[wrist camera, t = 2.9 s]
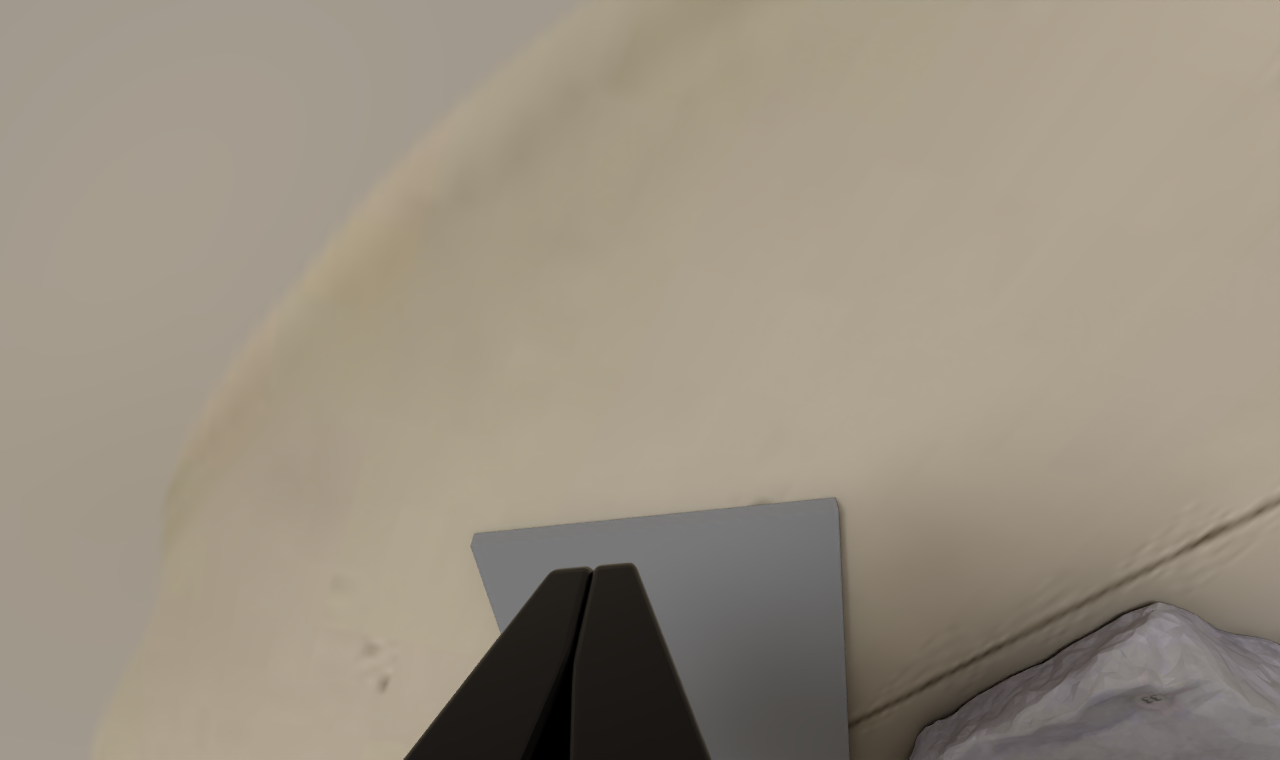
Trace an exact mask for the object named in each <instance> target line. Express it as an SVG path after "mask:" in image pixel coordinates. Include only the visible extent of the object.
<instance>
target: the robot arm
mask: <svg viewBox="0 0 1280 760" xmlns="http://www.w3.org/2000/svg"><path fill="white" fill-rule="evenodd" d="M403 760H712V759H711V756H710V753H709V751H708V748H707V746H706V743H705V741H704V738H703V736H702V733H701V730H700V728H699V725H698V723H697V720H696V718H695V715H694V712H693V710H692V707H691V705H690V702H689V700H688V697H687V694H686V692H685V689H684V687H683V684H682V682H681V679H680V677H679V674H678V671H677V669H676V666H675V664H674V661H673V659H672V656H671V653H670V651H669V648H668V646H667V643H666V641H665V638H664V635H663V633H662V630H661V628H660V625H659V623H658V620H657V617H656V615H655V612H654V610H653V607H652V605H651V602H650V600H649V597H648V594H647V592H646V589H645V587H644V584H643V582H642V579H641V576H640V574H639V571H638V569H637V567H636V565H635V564H633V563H631V562H627V563H616V564H604V565H599V566H597V567H596V568H595V569H594V570H593V569H592V568H590V567H588V566H582V567H571V568H560V569H555V570H553V571H551V572H550V573H549V574H548V575H547V576H546V577H545V579H544V580H543V581H542V582H541V584H540V585H539V586H538V588H537V589H536V590H535V591H534V593H533V594H532V595H531V597H530V598H529V599H528V600H527V602H526V603H525V604H524V606H523V607H522V608H521V609H520V611H519V612H518V613H517V615H516V616H515V617H514V618H513V620H512V621H511V622H510V624H509V625H508V626H507V627H506V629H505V630H504V631H503V632H502V634H501V635H500V636H499V638H498V639H497V640H496V641H495V643H494V644H493V645H492V647H491V648H490V649H489V650H488V652H487V653H486V654H485V656H484V657H483V658H482V659H481V661H480V662H479V663H478V665H477V666H476V667H475V668H474V670H473V671H472V672H471V674H470V675H469V676H468V677H467V679H466V680H465V681H464V683H463V684H462V685H461V686H460V688H459V689H458V690H457V691H456V693H455V694H454V695H453V697H452V698H451V699H450V700H449V702H448V703H447V704H446V706H445V707H444V708H443V709H442V711H441V712H440V713H439V715H438V716H437V717H436V718H435V720H434V721H433V722H432V724H431V725H430V726H429V727H428V729H427V730H426V731H425V733H424V734H423V735H422V736H421V738H420V739H419V740H418V742H417V743H416V744H415V745H414V747H413V748H412V749H411V750H410V752H409V753H408V754H407V756H406V757H405V758H404V759H403Z"/></svg>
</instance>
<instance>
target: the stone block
mask: <svg viewBox="0 0 1280 760" xmlns="http://www.w3.org/2000/svg"><path fill="white" fill-rule="evenodd" d="M909 760H1280V645H1279V644H1278V643H1275V642H1273V641H1270V640H1268V639H1263V638H1258V637H1250V636H1243V635H1235V634H1231V633H1228V632H1225V631H1221V630H1218V629H1216V628H1215V627H1213V626H1212V625H1210V624H1209V623H1207V622H1206V621H1204V620H1203V619H1201V618H1200V617H1198V616H1196V615H1194V614H1192V613H1190V612H1189V611H1187V610H1184V609H1181V608H1178V607H1176V606H1174V605H1171V604H1166V603H1161V602H1157V603H1154V604H1151V605H1149V606H1146V607H1144V608H1141V609H1138V610H1135V611H1131V612H1129V613H1127V614H1125V615H1123V616H1121V617H1120V618H1118V619H1117V620H1115V621H1113V622H1112V623H1110V624H1108V625H1106V626H1104V627H1103V628H1101V629H1100V630H1098V631H1096V632H1094V633H1093V634H1091V635H1089V636H1087V637H1085V638H1083V639H1081V640H1079V641H1077V642H1075V643H1074V644H1072V645H1070V646H1069V647H1067V648H1066V649H1064V650H1063V651H1061V652H1060V653H1058V654H1057V655H1056V656H1054V657H1053V658H1051V659H1050V660H1048V661H1046V662H1045V663H1043V664H1040V665H1037V666H1034V667H1031V668H1029V669H1027V670H1025V671H1023V672H1021V673H1019V674H1017V675H1014V676H1012V677H1010V678H1008V679H1006V680H1004V681H1003V682H1001V683H999V684H997V685H996V686H994V687H992V688H990V689H989V690H987V691H985V692H983V693H982V694H980V695H978V696H976V697H975V698H973V699H972V700H970V701H969V702H968V703H966V704H965V705H964V706H962V707H961V708H960V709H959V710H958V711H957V712H956V713H955V714H953V715H951V716H949V717H948V718H946V719H942V720H937V721H936V722H935V723H934V724H932V725H931V726H928V727H926V728H924V729H923V731H922V732H921V733H920V734H919V735H918V737H917V739H916V741H915V747H914V749H913V752H912V754H911V756H910V758H909Z"/></svg>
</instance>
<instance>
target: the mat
mask: <svg viewBox="0 0 1280 760" xmlns="http://www.w3.org/2000/svg"><path fill="white" fill-rule="evenodd" d="M471 549H472V552H473V555H474V558H475V560H476V563H477V566H478V569H479V572H480V575H481V578H482V581H483V583H484V586H485V589H486V592H487V595H488V598H489V601H490V604H491V607H492V609H493V612H494V615H495V618H496V621H497V624H498V627H499V630H500V632H501V634H502V632H503V631H504V630H505V629H506V627H507V626H508V625H509V624H510V622H511V621H512V620H513V618H514V617H515V616H516V615H517V613H518V612H519V611H520V609H521V608H522V607H523V606H524V604H525V603H526V602H527V600H528V599H529V598H530V597H531V595H532V594H533V593H534V591H535V590H536V589H537V588H538V586H539V585H540V584H541V582H542V581H543V580H544V579H545V577H546V576H547V575H548V574H549V573H550V572H551V571H553V570H555V569H560V568H571V567H582V566H588V567H590V568H592V569H593V570H594V569H595V568H596V567H597V566H599V565H604V564H616V563H627V562H631V563H633V564H635V565H636V567H637V569H638V571H639V574H640V576H641V579H642V582H643V584H644V587H645V589H646V592H647V594H648V597H649V600H650V602H651V605H652V607H653V610H654V612H655V615H656V617H657V620H658V623H659V625H660V628H661V630H662V633H663V635H664V638H665V641H666V643H667V646H668V648H669V651H670V653H671V656H672V659H673V661H674V664H675V666H676V669H677V671H678V674H679V677H680V679H681V682H682V684H683V687H684V689H685V692H686V694H687V697H688V700H689V702H690V705H691V707H692V710H693V712H694V715H695V718H696V720H697V723H698V725H699V728H700V730H701V733H702V736H703V738H704V741H705V743H706V746H707V748H708V751H709V753H710V756H711V759H712V760H850V758H849V736H848V713H847V691H846V669H845V646H844V624H843V601H842V579H841V557H840V534H839V512H838V506H837V503H836V499H835V498H827V499H817V500H807V501H797V502H787V503H777V504H767V505H757V506H747V507H737V508H727V509H717V510H707V511H697V512H687V513H677V514H667V515H657V516H647V517H637V518H627V519H617V520H607V521H597V522H587V523H577V524H567V525H557V526H547V527H537V528H527V529H517V530H507V531H497V532H487V533H477V534H474V536H473V539H472V543H471Z"/></svg>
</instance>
